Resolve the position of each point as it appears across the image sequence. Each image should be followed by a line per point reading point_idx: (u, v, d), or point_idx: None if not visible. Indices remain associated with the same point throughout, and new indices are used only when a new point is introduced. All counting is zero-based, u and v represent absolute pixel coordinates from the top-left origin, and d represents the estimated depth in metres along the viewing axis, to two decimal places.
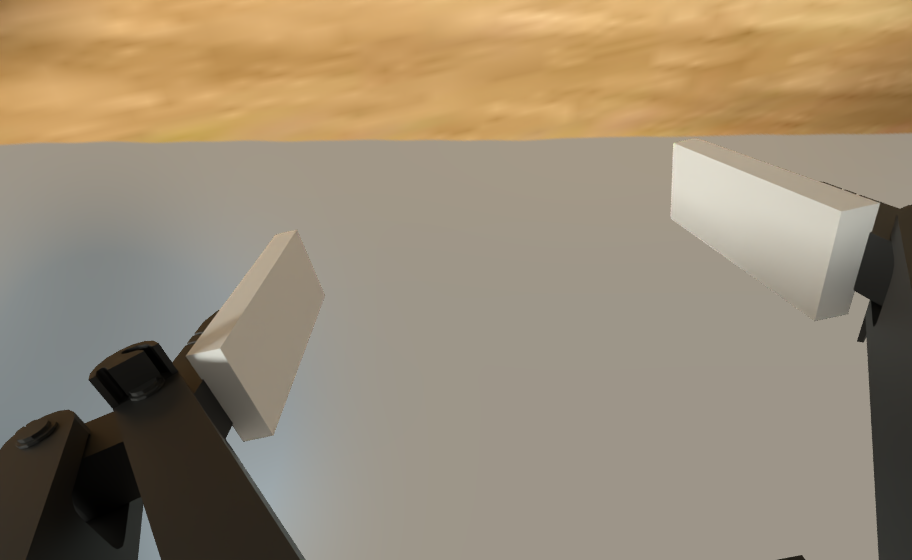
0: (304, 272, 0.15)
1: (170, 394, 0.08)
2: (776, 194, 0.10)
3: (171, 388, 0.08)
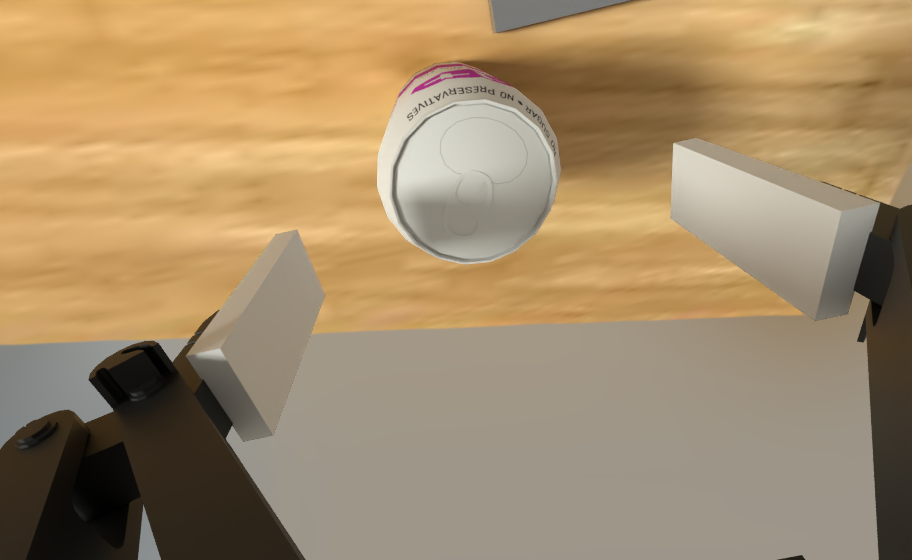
0: (304, 272, 0.15)
1: (170, 394, 0.08)
2: (776, 194, 0.10)
3: (171, 388, 0.08)
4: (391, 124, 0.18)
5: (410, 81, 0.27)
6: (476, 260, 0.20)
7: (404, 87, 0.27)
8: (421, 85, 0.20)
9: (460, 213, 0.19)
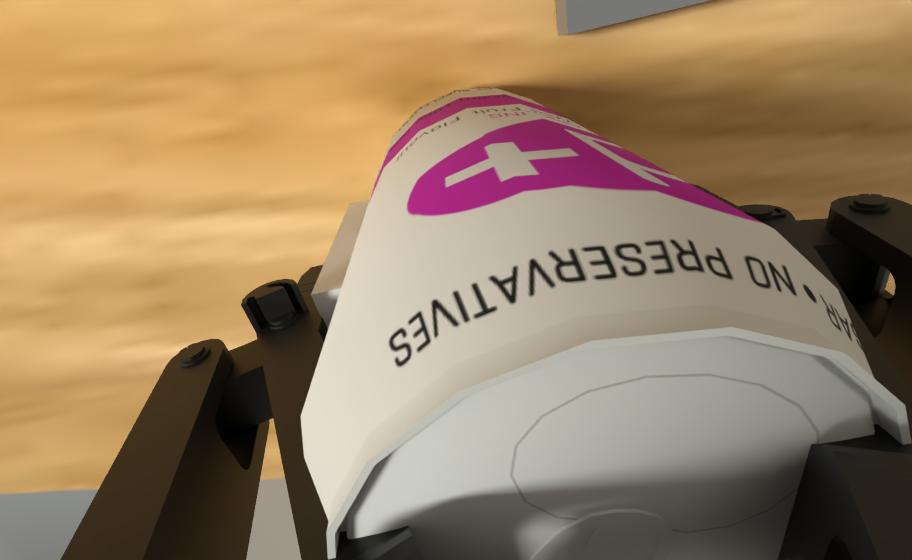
0: None
1: (300, 328, 0.09)
2: None
3: (302, 323, 0.09)
4: (337, 346, 0.05)
5: (409, 127, 0.14)
6: None
7: (398, 137, 0.15)
8: (435, 176, 0.07)
9: None
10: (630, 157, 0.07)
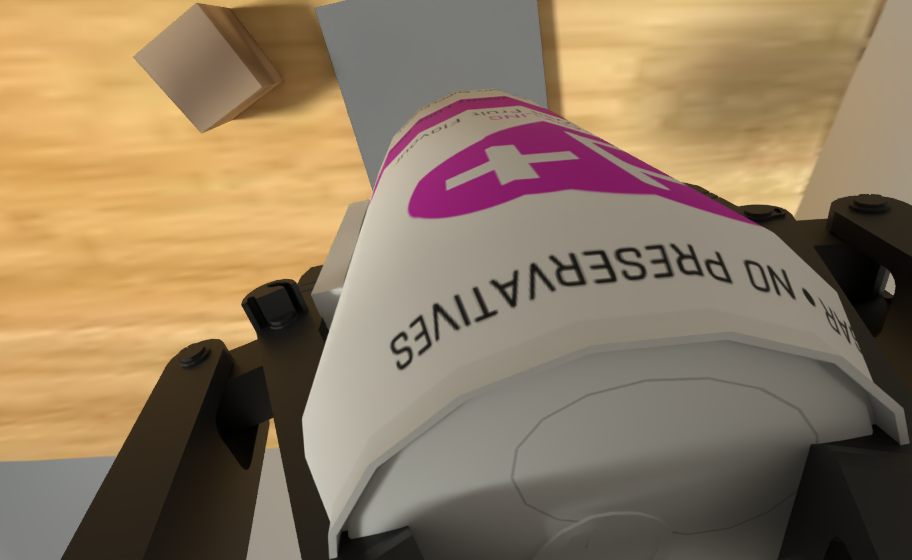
0: None
1: (301, 328, 0.09)
2: None
3: (302, 323, 0.09)
4: (338, 349, 0.05)
5: (410, 129, 0.14)
6: None
7: (399, 138, 0.15)
8: (436, 179, 0.07)
9: None
10: (630, 160, 0.08)
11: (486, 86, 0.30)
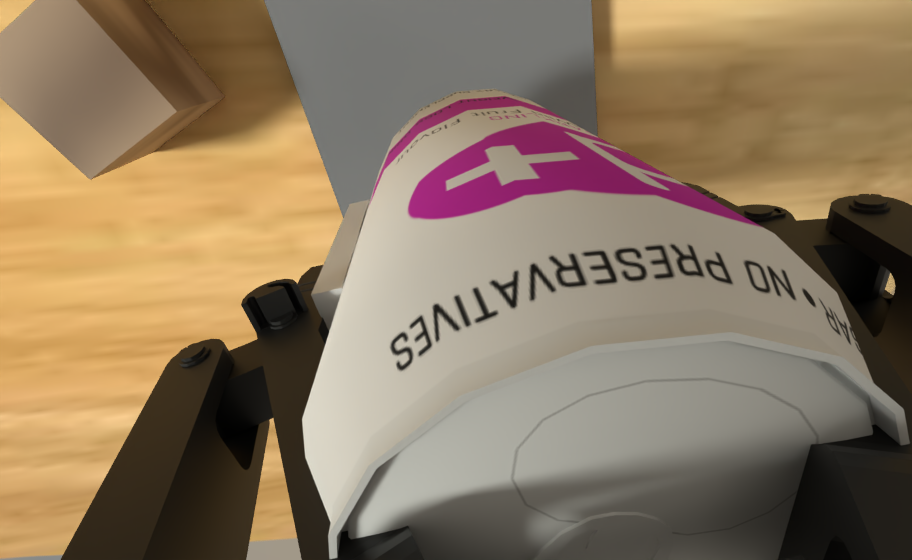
0: None
1: (301, 328, 0.09)
2: None
3: (302, 323, 0.10)
4: (339, 349, 0.05)
5: (410, 129, 0.14)
6: None
7: (399, 138, 0.15)
8: (436, 179, 0.07)
9: None
10: (630, 160, 0.08)
11: None
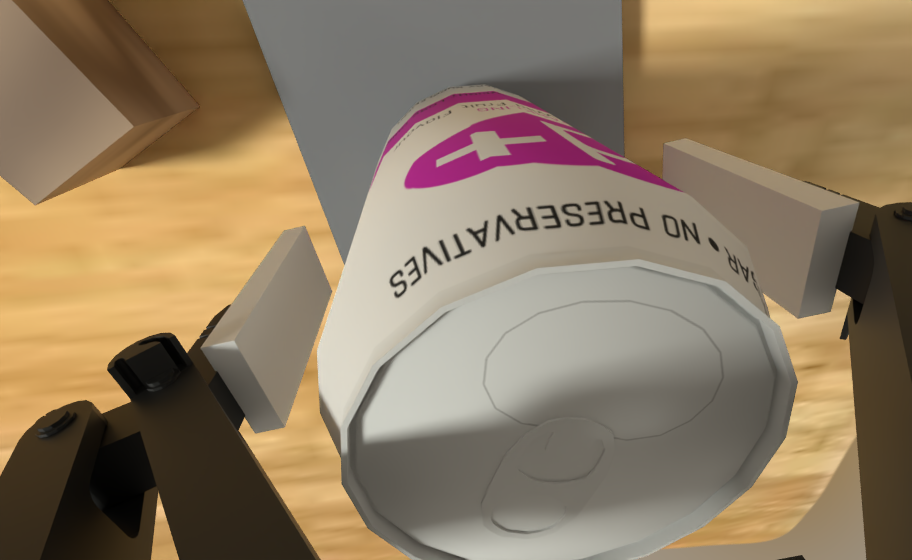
0: (312, 268, 0.15)
1: (185, 385, 0.08)
2: (760, 194, 0.10)
3: (186, 379, 0.09)
4: (348, 288, 0.07)
5: (407, 121, 0.15)
6: None
7: (397, 129, 0.16)
8: (428, 159, 0.09)
9: (525, 496, 0.07)
10: (593, 144, 0.09)
11: None
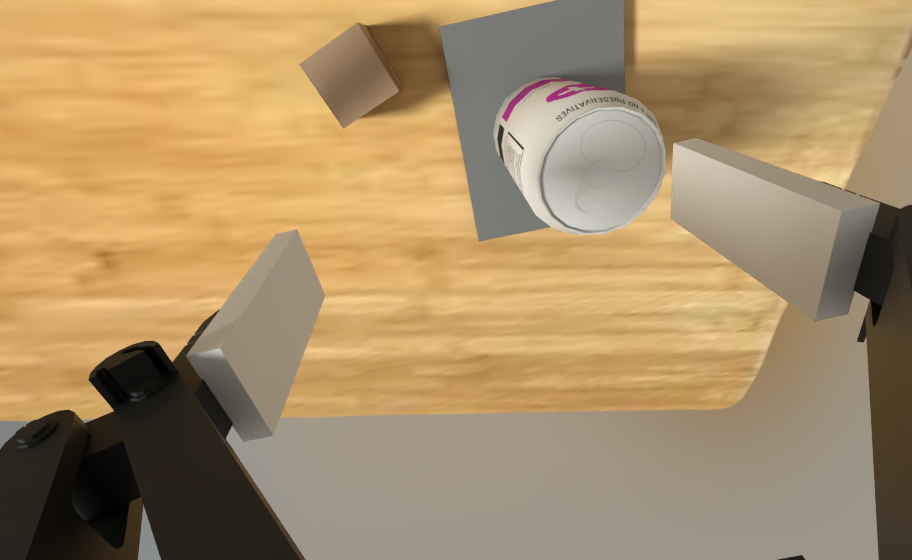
0: (304, 272, 0.15)
1: (170, 394, 0.08)
2: (776, 194, 0.10)
3: (171, 388, 0.08)
4: (541, 123, 0.23)
5: (520, 92, 0.32)
6: (594, 232, 0.25)
7: (513, 97, 0.33)
8: (553, 95, 0.26)
9: (587, 193, 0.24)
10: None
11: None
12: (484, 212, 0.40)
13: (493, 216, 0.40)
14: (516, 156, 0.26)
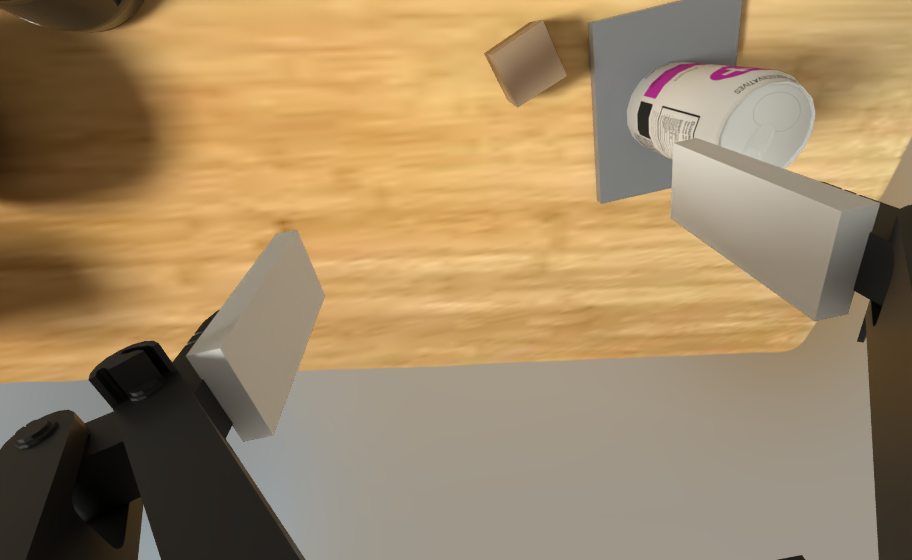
0: (304, 272, 0.15)
1: (170, 394, 0.08)
2: (776, 194, 0.10)
3: (171, 388, 0.08)
4: (720, 96, 0.31)
5: (661, 74, 0.40)
6: None
7: (653, 78, 0.40)
8: (716, 75, 0.33)
9: (751, 149, 0.32)
10: None
11: None
12: (609, 178, 0.48)
13: (616, 181, 0.48)
14: (685, 123, 0.34)
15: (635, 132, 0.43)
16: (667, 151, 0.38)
